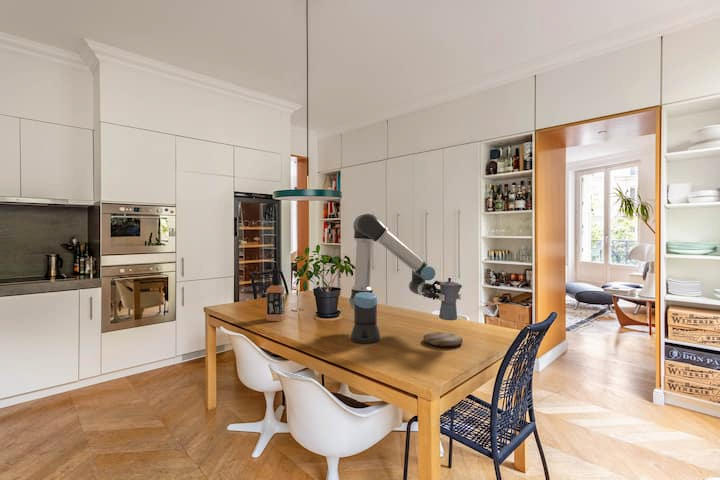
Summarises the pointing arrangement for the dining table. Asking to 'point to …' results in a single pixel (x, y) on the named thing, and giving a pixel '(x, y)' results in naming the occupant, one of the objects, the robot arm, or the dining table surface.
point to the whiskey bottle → (275, 299)
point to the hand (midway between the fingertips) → (451, 297)
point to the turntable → (443, 339)
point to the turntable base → (442, 346)
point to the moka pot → (448, 298)
